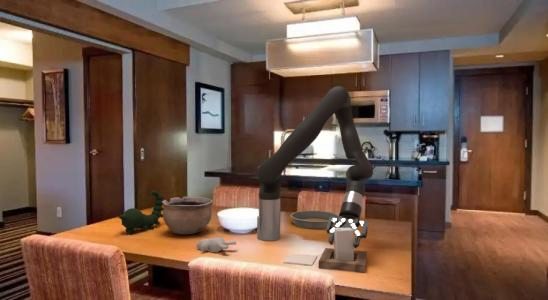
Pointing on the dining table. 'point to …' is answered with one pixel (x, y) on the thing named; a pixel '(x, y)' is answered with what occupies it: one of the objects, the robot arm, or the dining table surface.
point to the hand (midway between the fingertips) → (342, 245)
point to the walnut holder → (343, 261)
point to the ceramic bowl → (187, 214)
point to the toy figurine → (143, 216)
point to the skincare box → (344, 244)
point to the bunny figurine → (214, 244)
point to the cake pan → (303, 218)
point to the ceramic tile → (300, 259)
